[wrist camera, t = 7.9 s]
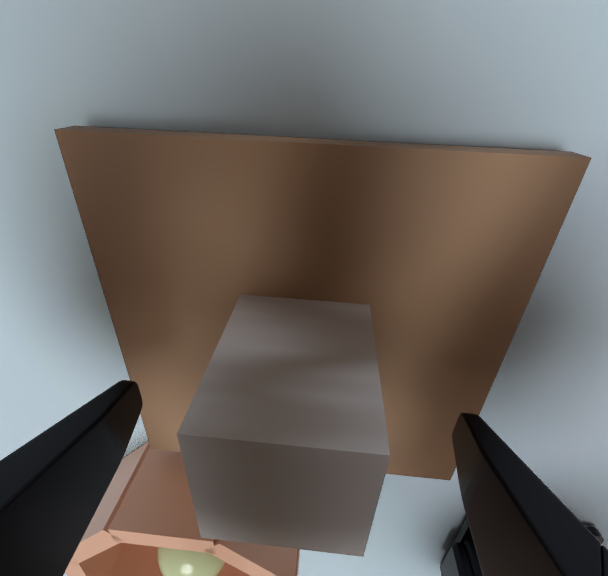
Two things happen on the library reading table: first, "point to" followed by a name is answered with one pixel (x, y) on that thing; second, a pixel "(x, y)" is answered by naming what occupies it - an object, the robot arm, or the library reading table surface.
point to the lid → (311, 307)
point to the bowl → (164, 529)
